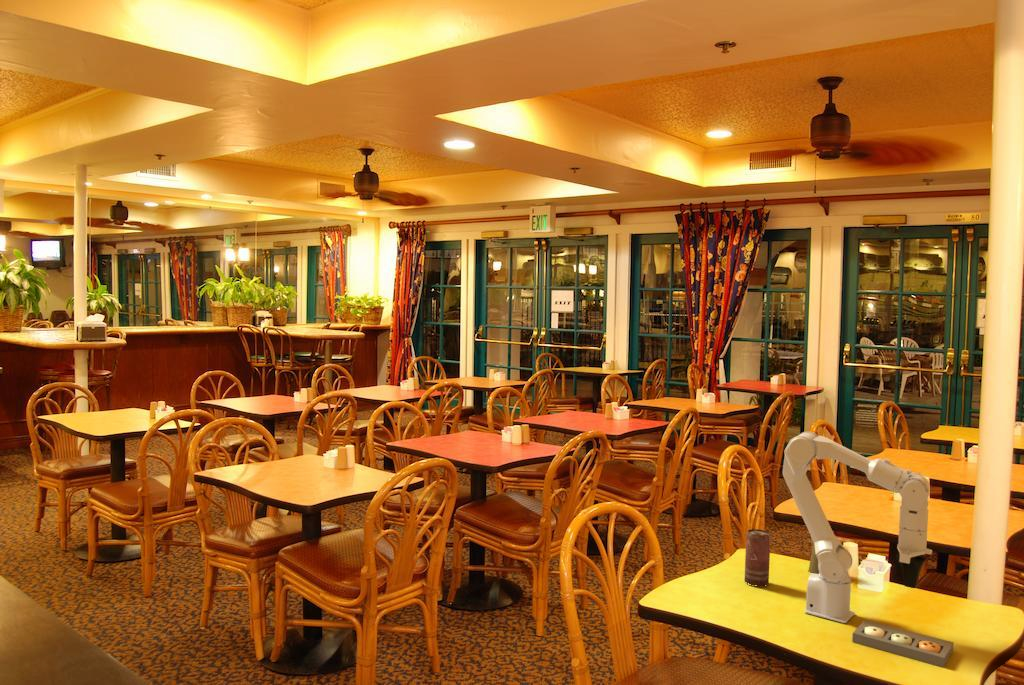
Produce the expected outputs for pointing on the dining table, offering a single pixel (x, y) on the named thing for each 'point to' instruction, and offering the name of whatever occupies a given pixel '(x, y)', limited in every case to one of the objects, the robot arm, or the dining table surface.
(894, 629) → the button panel
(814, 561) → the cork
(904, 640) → the button two
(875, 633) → the button one
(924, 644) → the button three
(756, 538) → the can
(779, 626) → the dining table surface
